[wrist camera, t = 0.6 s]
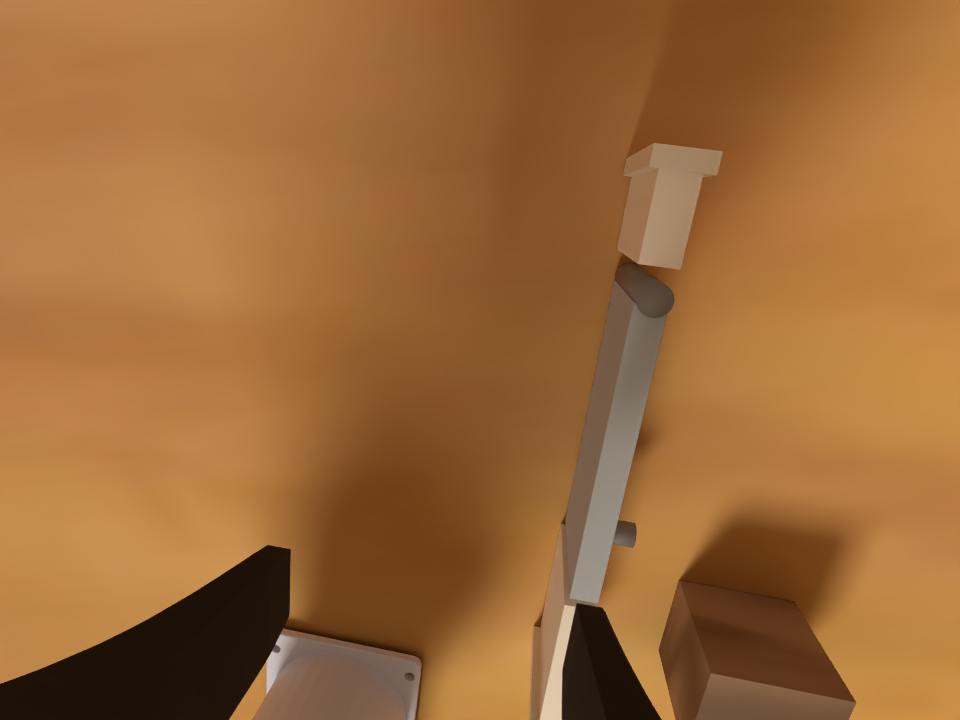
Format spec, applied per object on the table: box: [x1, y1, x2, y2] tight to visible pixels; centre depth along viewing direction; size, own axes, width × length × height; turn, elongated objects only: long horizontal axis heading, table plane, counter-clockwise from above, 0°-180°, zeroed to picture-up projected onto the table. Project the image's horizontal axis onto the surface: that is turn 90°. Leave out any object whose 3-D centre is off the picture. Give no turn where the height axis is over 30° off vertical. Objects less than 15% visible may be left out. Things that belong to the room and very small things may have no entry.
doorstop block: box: [659, 580, 856, 720], centre depth 22 cm, size 4×5×5 cm
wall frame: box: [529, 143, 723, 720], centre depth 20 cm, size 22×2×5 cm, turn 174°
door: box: [565, 263, 674, 604], centre depth 19 cm, size 11×2×5 cm, turn 174°
